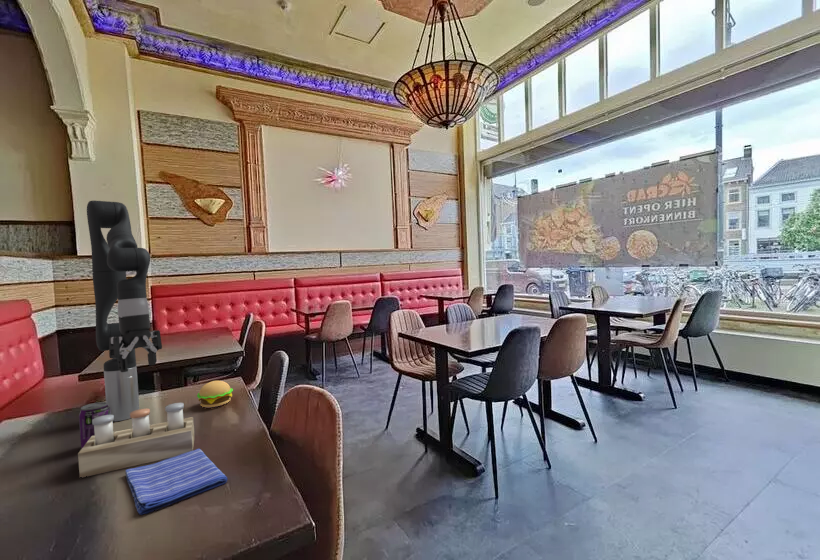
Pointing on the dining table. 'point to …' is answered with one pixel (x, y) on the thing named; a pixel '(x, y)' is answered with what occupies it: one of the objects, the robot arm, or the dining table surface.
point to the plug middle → (140, 422)
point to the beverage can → (88, 415)
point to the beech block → (135, 448)
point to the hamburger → (215, 394)
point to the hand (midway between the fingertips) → (138, 368)
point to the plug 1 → (103, 429)
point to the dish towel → (172, 480)
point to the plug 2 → (175, 416)
